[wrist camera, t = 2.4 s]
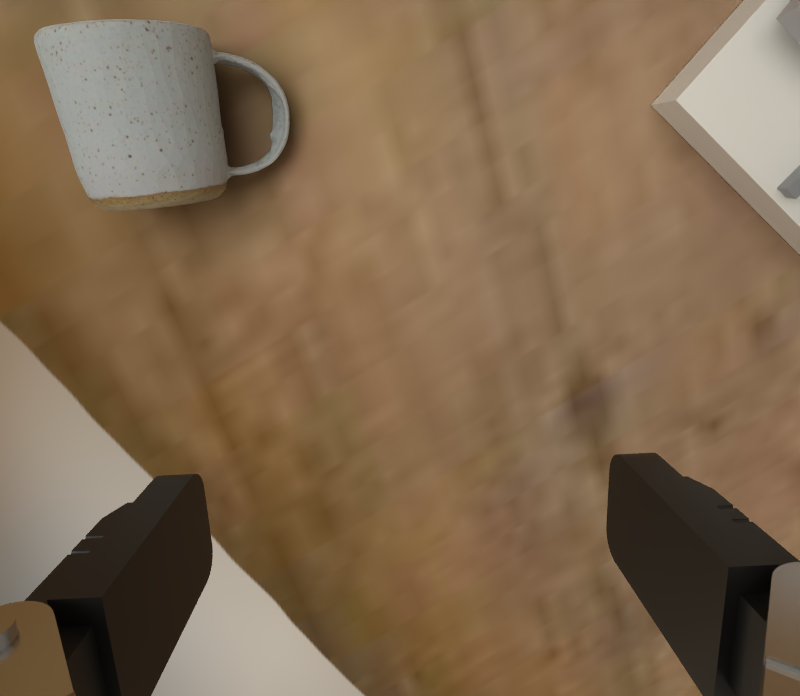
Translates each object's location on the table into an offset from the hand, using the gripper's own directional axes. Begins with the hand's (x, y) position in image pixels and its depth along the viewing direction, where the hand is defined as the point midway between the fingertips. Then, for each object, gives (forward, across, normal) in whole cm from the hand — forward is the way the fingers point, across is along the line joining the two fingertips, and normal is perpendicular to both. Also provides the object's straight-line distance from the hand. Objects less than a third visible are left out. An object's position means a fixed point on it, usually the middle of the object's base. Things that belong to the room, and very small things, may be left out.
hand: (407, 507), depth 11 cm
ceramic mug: (+24, +11, -12) cm, 29 cm away
